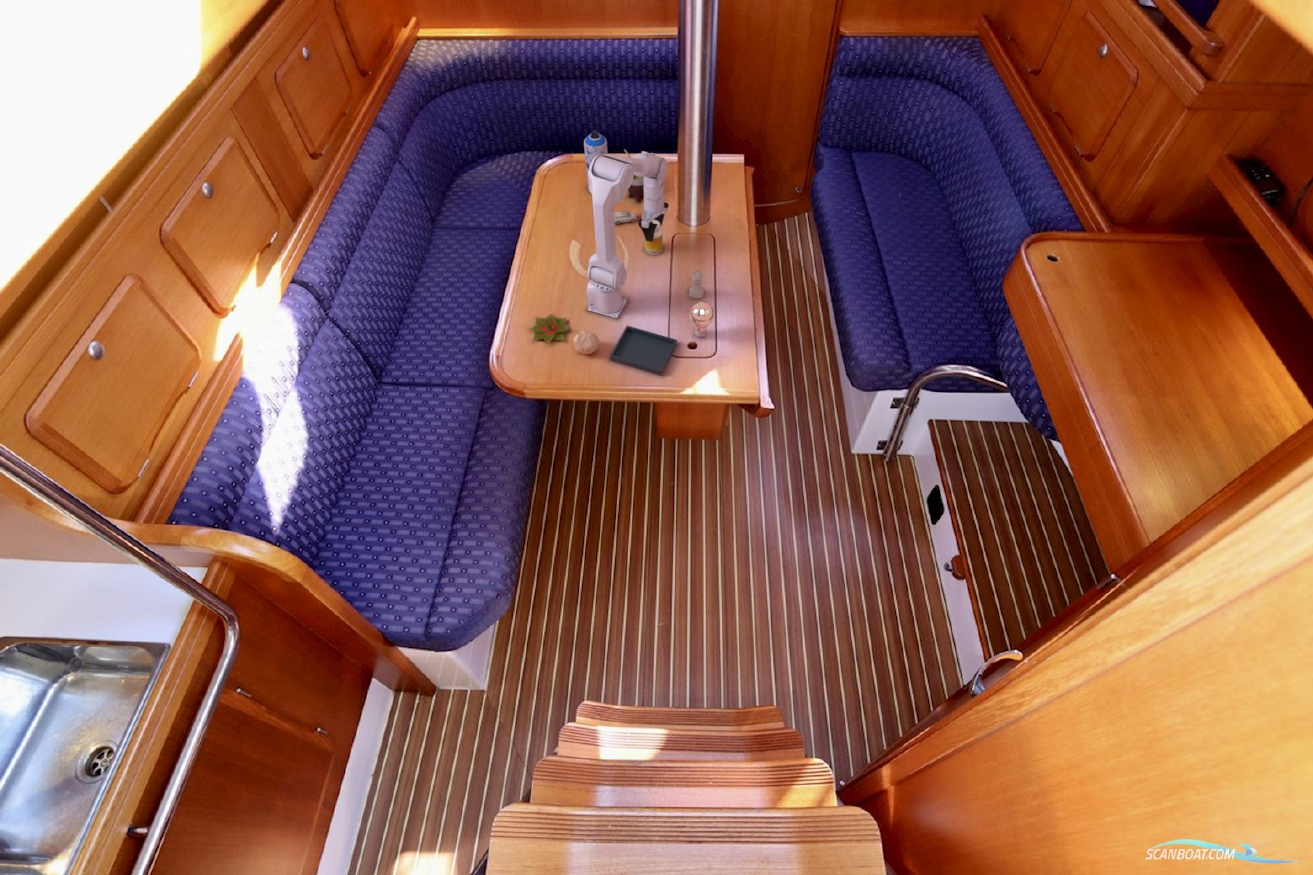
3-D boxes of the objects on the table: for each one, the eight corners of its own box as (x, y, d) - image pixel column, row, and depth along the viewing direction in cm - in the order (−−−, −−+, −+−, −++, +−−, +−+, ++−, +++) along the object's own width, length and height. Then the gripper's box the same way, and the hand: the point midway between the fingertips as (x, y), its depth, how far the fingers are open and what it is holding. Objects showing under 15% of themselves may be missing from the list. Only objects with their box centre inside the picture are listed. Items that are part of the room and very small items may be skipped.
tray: (610, 360, 178) (609, 355, 177) (627, 330, 185) (626, 325, 183) (661, 376, 175) (661, 371, 174) (677, 344, 182) (677, 339, 180)
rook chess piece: (705, 290, 194) (707, 270, 187) (701, 300, 191) (702, 280, 185) (691, 287, 195) (692, 266, 188) (686, 297, 192) (687, 276, 186)
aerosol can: (585, 182, 223) (580, 126, 207) (608, 178, 224) (604, 123, 208) (589, 195, 219) (584, 140, 203) (612, 192, 220) (609, 137, 204)
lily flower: (569, 346, 181) (567, 335, 177) (526, 346, 181) (523, 334, 178) (573, 315, 188) (571, 304, 184) (532, 315, 188) (529, 303, 184)
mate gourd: (648, 203, 217) (647, 162, 204) (624, 203, 217) (622, 162, 204) (648, 189, 221) (648, 149, 209) (625, 189, 221) (623, 148, 209)
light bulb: (704, 348, 181) (707, 317, 171) (683, 338, 183) (684, 307, 173) (716, 332, 184) (719, 302, 174) (695, 323, 186) (697, 292, 176)
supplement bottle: (660, 256, 202) (660, 230, 194) (643, 254, 203) (643, 228, 195) (663, 245, 205) (664, 219, 197) (647, 242, 206) (646, 217, 198)
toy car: (638, 221, 212) (637, 214, 209) (614, 225, 211) (613, 217, 208) (635, 214, 214) (635, 207, 211) (611, 218, 212) (611, 210, 210)
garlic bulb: (584, 338, 183) (581, 318, 176) (603, 347, 181) (601, 327, 175) (571, 353, 180) (568, 334, 173) (590, 362, 178) (587, 343, 171)
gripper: (657, 212, 183) (657, 250, 194) (675, 183, 190) (674, 221, 202) (634, 207, 184) (635, 245, 196) (652, 178, 192) (653, 216, 203)
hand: (653, 233), depth 199 cm, fingers open, 7 cm apart
